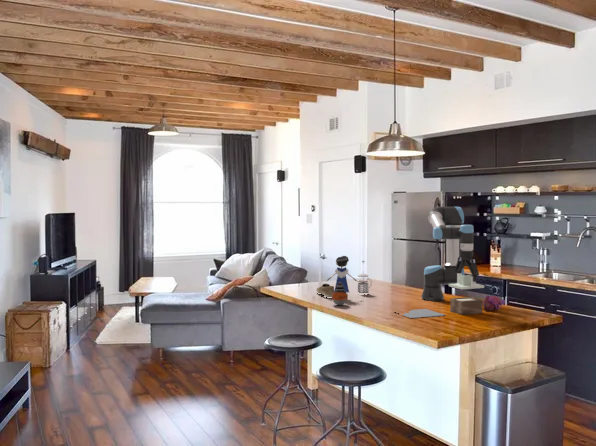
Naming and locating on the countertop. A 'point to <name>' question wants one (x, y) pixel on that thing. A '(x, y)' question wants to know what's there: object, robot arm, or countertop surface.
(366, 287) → the french press
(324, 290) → the slip on shoe
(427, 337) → the countertop surface
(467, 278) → the lid
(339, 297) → the grenade
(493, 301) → the anatomical model
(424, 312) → the mat
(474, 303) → the storage box
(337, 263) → the figurine
